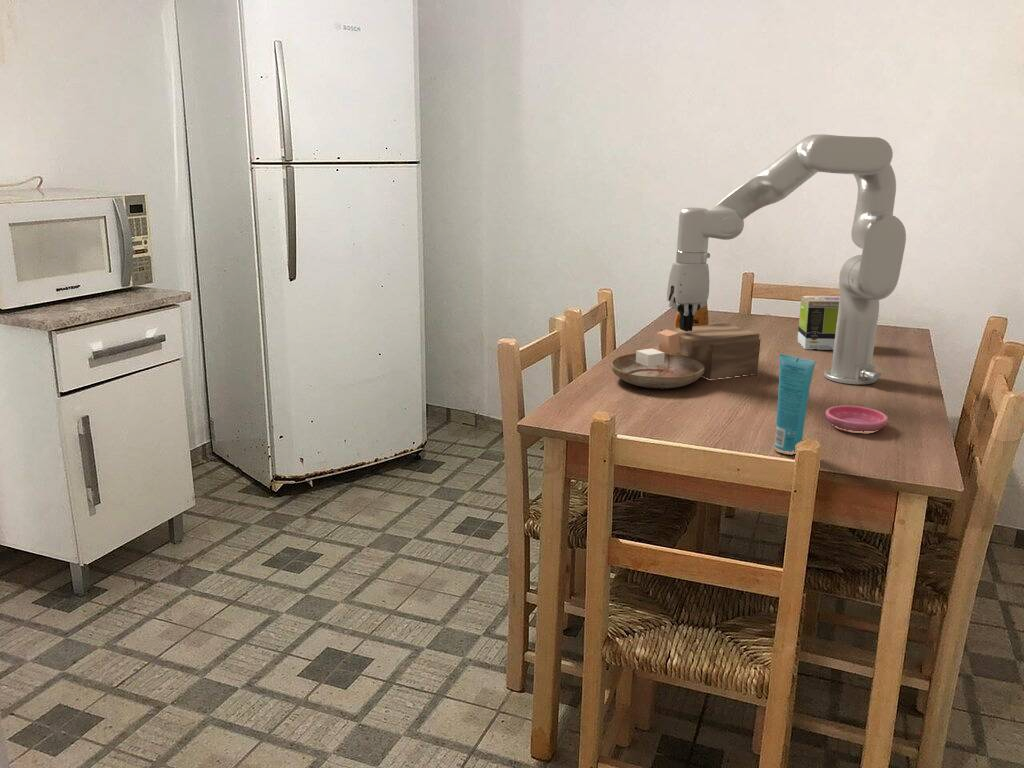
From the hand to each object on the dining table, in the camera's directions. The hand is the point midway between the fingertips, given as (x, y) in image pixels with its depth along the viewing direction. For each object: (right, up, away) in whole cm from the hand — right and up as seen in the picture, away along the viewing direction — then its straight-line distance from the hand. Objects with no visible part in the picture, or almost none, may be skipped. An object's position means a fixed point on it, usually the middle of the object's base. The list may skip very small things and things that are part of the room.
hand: (685, 329), depth 215 cm
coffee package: (+6, -6, +23) cm, 24 cm away
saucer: (+29, -23, -34) cm, 51 cm away
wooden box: (+7, -11, +6) cm, 14 cm away
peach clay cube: (-3, -3, -1) cm, 4 cm away
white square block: (-10, -6, -4) cm, 12 cm away
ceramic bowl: (-8, -14, -2) cm, 16 cm away
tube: (+10, -27, -49) cm, 57 cm away
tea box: (+49, -3, +35) cm, 60 cm away
